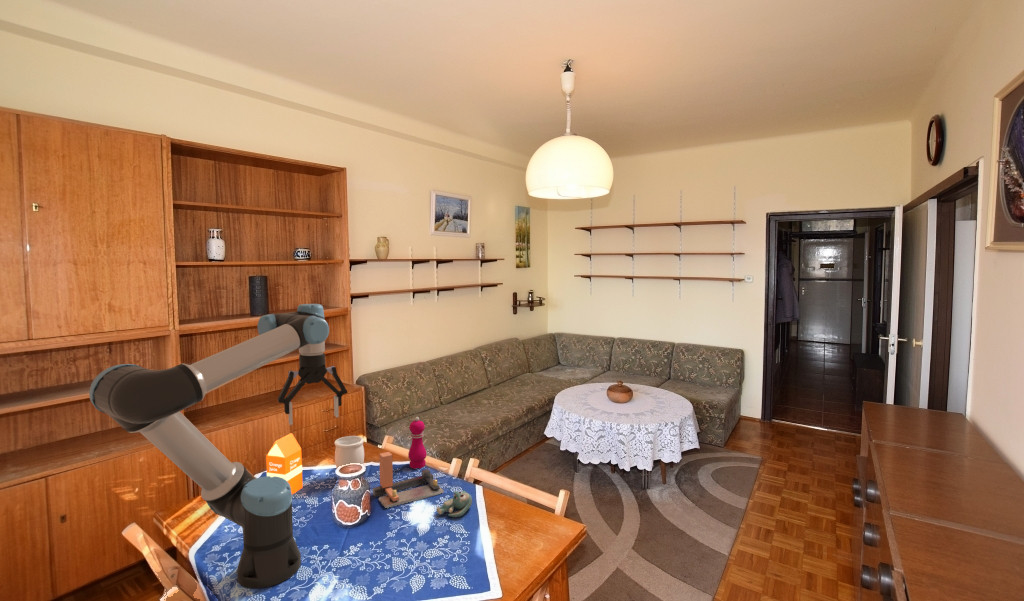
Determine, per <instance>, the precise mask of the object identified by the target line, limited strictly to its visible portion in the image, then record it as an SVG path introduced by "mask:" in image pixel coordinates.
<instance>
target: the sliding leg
mask: <svg viewBox="0 0 1024 601" xmlns="http://www.w3.org/2000/svg"><path fill="white" fill-rule="evenodd" d="M393 464H394V463H393V454H392V453H391V452H390V451H386V452H382V453H379V485H380V486H382V488H385V492H386V493H387V494H386V495H388V496H389V497H390V498H391V499H392V501H396V500H399V497H398V495H397V493H398V491H397V490H393V489H392V488H391V487H390V486H393V483H394V476H393V474H394V472H393ZM386 487H389V488H386Z"/></svg>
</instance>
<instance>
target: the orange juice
mask: <svg viewBox="0 0 1024 601" xmlns="http://www.w3.org/2000/svg"><path fill="white" fill-rule="evenodd" d="M302 453H303V452H302V447H301V446H300V444H299V443H298V441H297V439H296V437H295V435H294V434H293V433H292V432H291V433H289V434H287V435H284V436H283V437H281V438H279V439H277V440H275V441H274V443H273V445H272V446H271V448H270V449H269V451H268V453H267V454H266V456H265V459H266V460H265V462H266V476H270V477H274V476H276V477H280V478H283V479H285V480H286V481H287V482H288V483H289V484H290V487H291V492H292V495H294V494H295V493H297V492H298V491H300V490H301V489H303V462H302V461H303V458H302Z"/></svg>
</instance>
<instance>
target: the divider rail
mask: <svg viewBox="0 0 1024 601" xmlns="http://www.w3.org/2000/svg"><path fill="white" fill-rule="evenodd" d="M425 483H428V484H427V485H430V486H431V487H432V488H433V489H434V490H435V489H438V488H439V486H440V485H439V484H438V479H436V478H434V475H433V473H431V470H430V469H428V468H426V469H421V475H419V476H415V477H412V478H407V479H404V480H403V479H402V480H400V481H399V480H398V481H397V482H393V486H390V487H391V488H392V489H393V490H397V492H400V491H399V490H401V491H404V490H408V489H411V488H410V487H412V488H415V487H414V486H416V487H419V486H418V485H420V486H423V485H422V484H424V485H426V484H425ZM386 488H389V487H386ZM407 488H408V489H407ZM403 489H404V490H403ZM384 494H385V495H388V494H387V493H386V492H385V488H382V486H381V485H380V486H376V487H373V488H372V496H373V497H374V498H377V497H381V496H385V495H384ZM380 495H381V496H380ZM376 496H377V497H376Z"/></svg>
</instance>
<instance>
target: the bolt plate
mask: <svg viewBox="0 0 1024 601" xmlns="http://www.w3.org/2000/svg"><path fill="white" fill-rule="evenodd" d="M441 493H442V494H444V489H443V488H441V486H440V485H439V488H438V489H435V490H434V489H433V488H432V487H431V486H430V485H429V484H424V485H420V486H416V487H412V488H409V489H405V490H401V491H397V495H398V497H399V500H396V501H392V499H391V498H390V497H389V496H388V494H386V495H382V496H378V502H381V503H380V504H381V506H382V507H383V506H384V507H385V508H387V509H390V508H389V507H391V508H394V507H393V506H395V507H398V506H401V505H400V504H402V505H405V504H404V503H406V504H409V503H412V501H413V502H417V501H419V500H423V499H427V498H430V497H434V496H438V495H442V494H441ZM408 502H409V503H408ZM397 505H398V506H397ZM384 507H383V508H384ZM385 508H384V509H385Z"/></svg>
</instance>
